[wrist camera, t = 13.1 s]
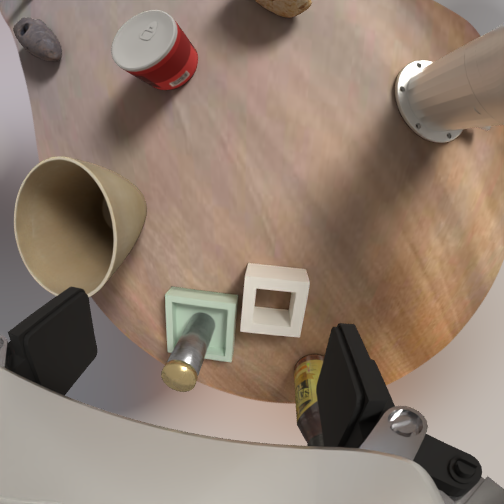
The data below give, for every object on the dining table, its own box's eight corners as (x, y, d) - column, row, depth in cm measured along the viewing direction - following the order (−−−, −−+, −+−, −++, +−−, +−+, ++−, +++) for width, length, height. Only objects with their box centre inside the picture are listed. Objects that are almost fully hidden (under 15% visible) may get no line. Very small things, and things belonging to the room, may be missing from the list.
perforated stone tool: (75, 51, 33) (50, 40, 27) (55, 75, 34) (30, 68, 28) (46, 19, 31) (24, 9, 24) (29, 40, 32) (6, 32, 25)
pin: (216, 314, 43) (195, 368, 30) (215, 337, 44) (195, 394, 31) (189, 310, 43) (159, 361, 30) (189, 333, 44) (162, 387, 32)
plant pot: (192, 218, 40) (146, 251, 25) (121, 274, 43) (63, 321, 28) (133, 135, 37) (64, 125, 22) (70, 198, 40) (-1, 217, 25)
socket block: (305, 269, 41) (310, 282, 36) (297, 319, 43) (299, 337, 38) (248, 262, 41) (245, 275, 36) (243, 313, 44) (240, 331, 39)
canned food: (206, 44, 33) (185, 9, 22) (189, 95, 35) (161, 72, 25) (157, 40, 33) (125, 10, 22) (140, 88, 35) (101, 69, 25)
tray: (238, 294, 43) (235, 304, 40) (233, 351, 46) (231, 362, 43) (171, 286, 43) (165, 294, 40) (173, 341, 46) (167, 352, 43)
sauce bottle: (296, 351, 45) (305, 451, 26) (334, 353, 45) (360, 449, 26) (290, 381, 47) (294, 478, 28) (326, 382, 46) (343, 477, 27)
